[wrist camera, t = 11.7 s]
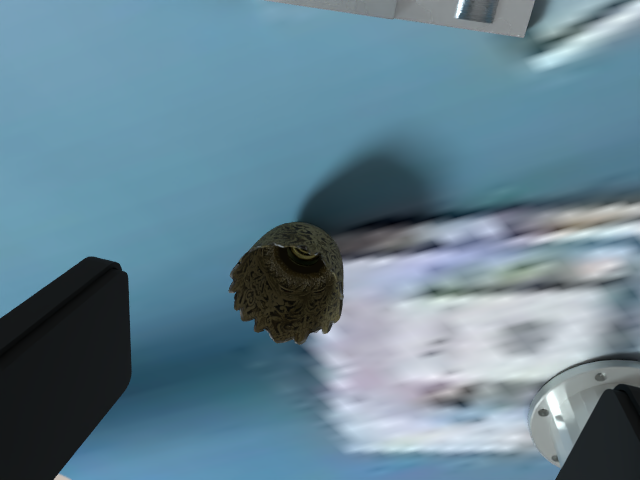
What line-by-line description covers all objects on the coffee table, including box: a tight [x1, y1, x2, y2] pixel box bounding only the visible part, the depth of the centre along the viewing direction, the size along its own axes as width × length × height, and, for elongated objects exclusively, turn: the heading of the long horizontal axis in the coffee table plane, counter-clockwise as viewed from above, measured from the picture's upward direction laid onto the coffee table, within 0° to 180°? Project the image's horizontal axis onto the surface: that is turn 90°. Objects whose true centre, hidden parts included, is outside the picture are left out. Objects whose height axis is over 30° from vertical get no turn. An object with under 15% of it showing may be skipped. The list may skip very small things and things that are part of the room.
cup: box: [229, 222, 344, 345], centre depth 34 cm, size 8×7×8 cm
